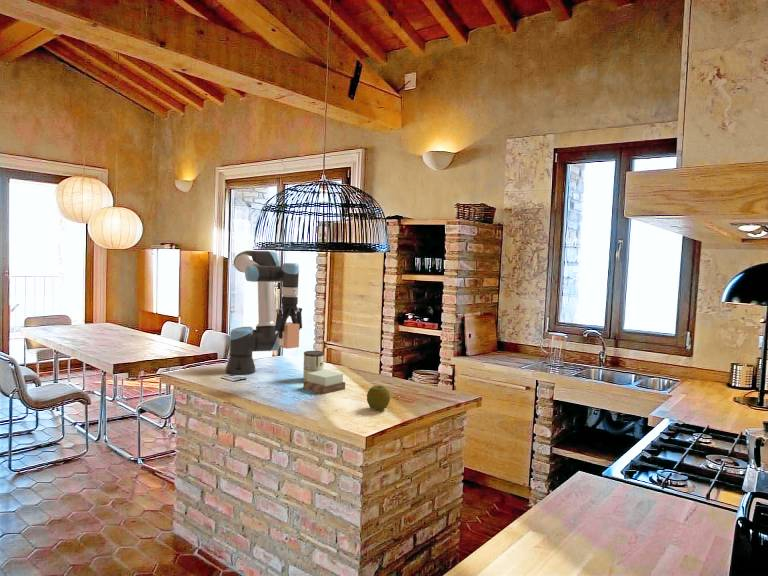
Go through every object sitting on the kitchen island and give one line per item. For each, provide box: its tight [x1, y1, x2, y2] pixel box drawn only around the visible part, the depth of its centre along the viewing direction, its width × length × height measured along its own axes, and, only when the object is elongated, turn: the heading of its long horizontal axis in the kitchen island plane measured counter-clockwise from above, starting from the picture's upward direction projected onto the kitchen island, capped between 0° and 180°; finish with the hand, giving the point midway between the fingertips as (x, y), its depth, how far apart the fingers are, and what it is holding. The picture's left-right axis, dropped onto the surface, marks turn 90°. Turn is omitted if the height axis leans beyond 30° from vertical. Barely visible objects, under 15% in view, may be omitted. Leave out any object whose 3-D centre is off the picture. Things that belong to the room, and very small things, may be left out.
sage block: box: [307, 369, 344, 386], centre depth 272 cm, size 12×12×4 cm
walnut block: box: [303, 380, 346, 395], centre depth 272 cm, size 14×14×4 cm
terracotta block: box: [278, 321, 300, 349], centre depth 268 cm, size 7×7×11 cm
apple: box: [366, 385, 391, 411], centre depth 241 cm, size 10×10×11 cm
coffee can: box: [302, 350, 325, 382], centre depth 289 cm, size 10×10×14 cm
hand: (288, 344), depth 269 cm, fingers closed on terracotta block, 7 cm apart
